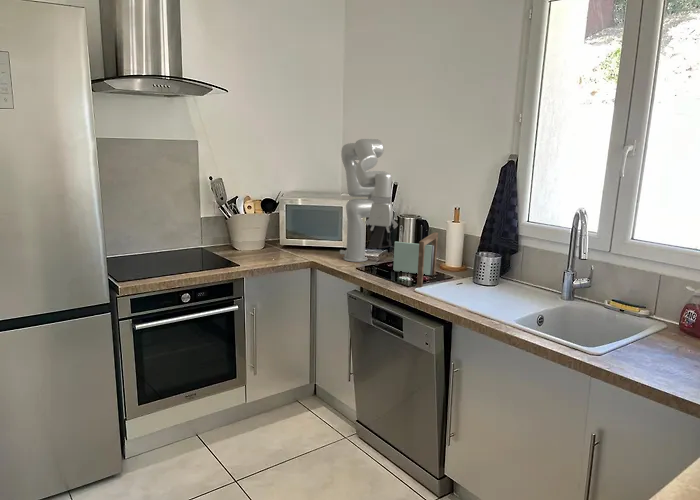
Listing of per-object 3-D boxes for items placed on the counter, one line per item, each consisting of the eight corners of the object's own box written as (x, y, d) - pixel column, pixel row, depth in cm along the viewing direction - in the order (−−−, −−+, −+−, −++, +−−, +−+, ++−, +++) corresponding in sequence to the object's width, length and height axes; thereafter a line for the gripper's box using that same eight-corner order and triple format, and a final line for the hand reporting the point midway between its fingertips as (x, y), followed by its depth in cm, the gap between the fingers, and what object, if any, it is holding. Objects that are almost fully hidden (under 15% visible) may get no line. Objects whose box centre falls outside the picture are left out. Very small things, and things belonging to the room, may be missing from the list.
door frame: (416, 286, 230) (419, 241, 226) (431, 273, 253) (434, 232, 249) (421, 287, 230) (423, 241, 225) (435, 274, 253) (438, 232, 248)
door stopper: (378, 248, 237) (379, 222, 234) (368, 246, 241) (369, 220, 238) (391, 246, 243) (393, 220, 241) (381, 244, 247) (383, 218, 245)
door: (432, 274, 249) (434, 245, 246) (431, 275, 248) (433, 246, 245) (394, 269, 256) (395, 241, 254) (393, 270, 255) (394, 241, 252)
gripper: (361, 200, 238) (359, 239, 241) (398, 203, 231) (395, 243, 235) (367, 198, 244) (366, 236, 248) (403, 201, 238) (401, 240, 241)
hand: (380, 239), depth 241 cm, fingers closed on door stopper, 6 cm apart
